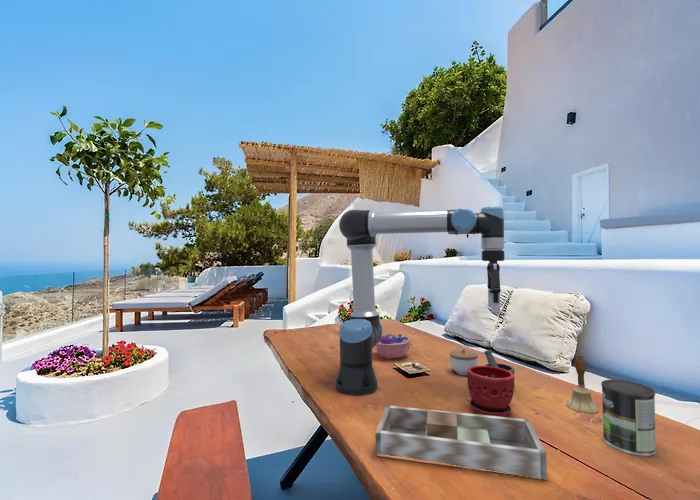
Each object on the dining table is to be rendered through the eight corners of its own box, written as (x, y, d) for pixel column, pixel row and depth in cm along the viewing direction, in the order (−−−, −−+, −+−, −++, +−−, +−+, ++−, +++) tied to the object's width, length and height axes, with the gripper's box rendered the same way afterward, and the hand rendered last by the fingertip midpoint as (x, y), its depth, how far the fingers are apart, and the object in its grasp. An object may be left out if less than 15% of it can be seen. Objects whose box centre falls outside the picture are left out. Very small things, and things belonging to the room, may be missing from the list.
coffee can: (610, 451, 82) (608, 391, 82) (597, 431, 91) (596, 377, 92) (665, 460, 78) (663, 397, 78) (646, 438, 87) (645, 382, 88)
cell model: (417, 354, 166) (417, 330, 166) (400, 365, 149) (399, 339, 149) (385, 349, 175) (385, 327, 175) (366, 359, 158) (365, 334, 158)
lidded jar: (463, 379, 131) (462, 354, 132) (444, 370, 141) (443, 347, 141) (484, 375, 136) (483, 350, 136) (464, 367, 146) (464, 344, 146)
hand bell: (589, 416, 100) (587, 360, 100) (560, 405, 107) (558, 353, 108) (604, 409, 104) (603, 356, 104) (575, 399, 111) (574, 349, 112)
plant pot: (512, 425, 95) (511, 381, 95) (463, 414, 102) (462, 373, 102) (517, 407, 106) (516, 368, 106) (473, 398, 113) (472, 361, 113)
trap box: (375, 456, 81) (375, 432, 81) (386, 425, 96) (386, 405, 96) (547, 480, 72) (546, 453, 72) (529, 441, 87) (529, 419, 87)
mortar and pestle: (520, 389, 121) (519, 354, 121) (501, 393, 117) (500, 358, 117) (495, 379, 131) (494, 347, 131) (476, 383, 127) (475, 350, 127)
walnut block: (426, 442, 82) (426, 423, 82) (428, 428, 89) (427, 410, 89) (457, 446, 80) (457, 426, 80) (456, 431, 87) (456, 413, 87)
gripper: (509, 249, 111) (510, 315, 111) (500, 250, 135) (501, 305, 134) (484, 249, 113) (485, 314, 113) (479, 250, 137) (480, 304, 137)
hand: (493, 309), depth 124 cm, fingers open, 13 cm apart
